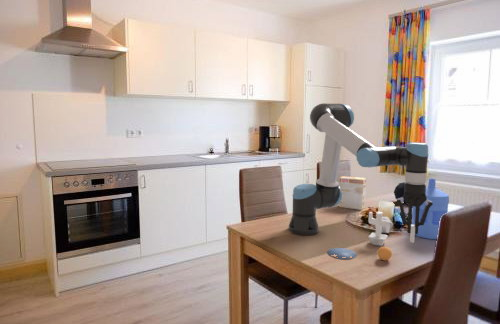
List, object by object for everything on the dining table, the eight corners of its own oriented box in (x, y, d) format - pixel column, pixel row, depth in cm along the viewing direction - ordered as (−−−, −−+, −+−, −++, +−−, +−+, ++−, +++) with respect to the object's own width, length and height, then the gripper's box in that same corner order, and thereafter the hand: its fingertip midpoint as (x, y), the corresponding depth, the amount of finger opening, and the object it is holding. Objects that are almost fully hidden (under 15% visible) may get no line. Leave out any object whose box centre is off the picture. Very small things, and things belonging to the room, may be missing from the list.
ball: (376, 261, 142) (377, 248, 142) (377, 256, 147) (378, 243, 147) (391, 263, 140) (392, 250, 140) (391, 258, 145) (392, 245, 145)
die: (390, 237, 172) (398, 220, 174) (374, 228, 173) (383, 211, 175) (383, 237, 180) (391, 221, 182) (368, 228, 181) (377, 212, 183)
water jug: (411, 227, 185) (414, 175, 181) (445, 232, 178) (449, 178, 175) (410, 236, 171) (414, 180, 168) (446, 242, 165) (451, 183, 161)
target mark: (325, 256, 147) (325, 256, 147) (329, 246, 158) (329, 246, 158) (355, 261, 142) (355, 260, 142) (357, 250, 153) (357, 250, 153)
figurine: (386, 248, 156) (388, 215, 154) (365, 243, 162) (366, 212, 159) (390, 243, 163) (392, 211, 160) (369, 239, 168) (371, 208, 166)
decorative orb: (391, 191, 248) (394, 176, 238) (414, 192, 244) (418, 178, 234) (393, 207, 238) (395, 193, 228) (417, 208, 234) (421, 194, 224)
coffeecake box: (364, 207, 224) (366, 177, 221) (361, 210, 218) (363, 179, 215) (341, 204, 232) (343, 175, 229) (338, 206, 226) (339, 177, 223)
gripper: (433, 182, 137) (429, 240, 140) (397, 180, 142) (394, 236, 145) (435, 185, 130) (431, 246, 133) (397, 183, 135) (394, 242, 138)
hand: (411, 241), depth 139 cm, fingers closed
